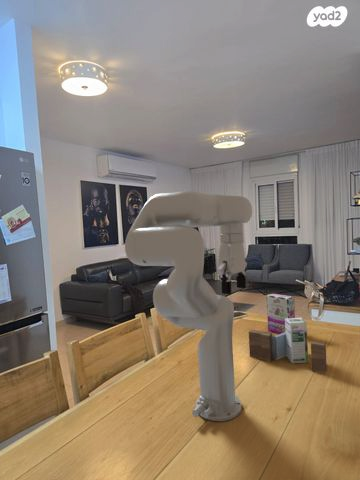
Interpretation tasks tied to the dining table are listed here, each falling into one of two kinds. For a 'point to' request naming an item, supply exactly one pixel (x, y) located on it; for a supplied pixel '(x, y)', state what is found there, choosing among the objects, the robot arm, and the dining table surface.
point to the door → (279, 346)
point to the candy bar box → (279, 311)
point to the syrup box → (296, 340)
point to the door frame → (264, 350)
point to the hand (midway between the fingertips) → (234, 290)
